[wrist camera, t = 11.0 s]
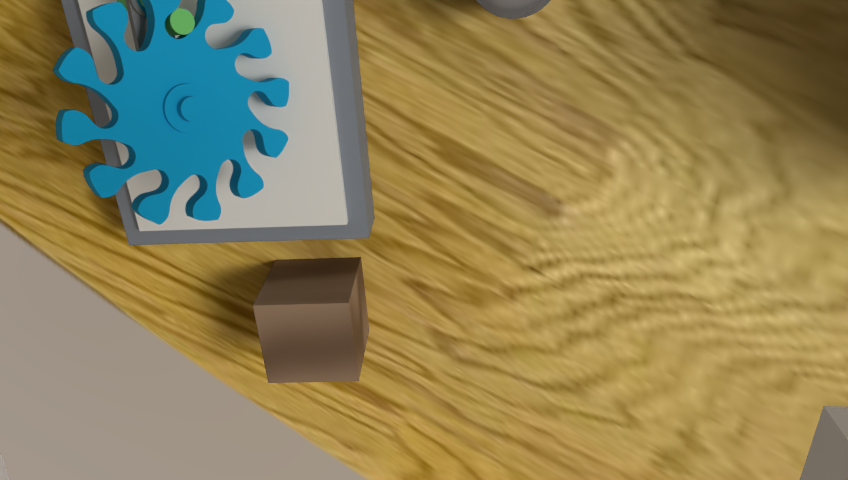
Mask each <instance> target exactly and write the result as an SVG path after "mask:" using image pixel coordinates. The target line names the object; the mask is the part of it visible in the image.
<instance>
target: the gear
mask: <svg viewBox="0 0 848 480" xmlns="http://www.w3.org/2000/svg"><path fill="white" fill-rule="evenodd" d="M180 1H181V0H117V2H112V3H106V4H102V5H99V6H96V7H94V8H92V9H90V10H88V11H86V18H87V21H88V23H89V25H90V26H91V27H92V29H94V30H95V31H96V32H97V33H99V34H100V35H101V36H102V37H103V38H104V40H105V41H106V42H107V44H108V45H109V47H110V49H111V51H112V53H113V57H114V60H115V64H116V69H117V76H116V78H115V79H114V81H113V82H111V83H109V84H105V83H104V82H102V81H101V80H100V79H99V77H98V76H97V73H96V69H95V64H94V61H93V59H92V57H91V56H90V54H89V53H88V52H86V51H85V50H83V49H81V48H77V47H74V48H69V49H68V50H66V51H65V52H64V53H63V54H62V55H61V56H60V58H59V59H58V61H57V63H56V64H55V66H54V68H53V71H54V73H55V75H56V76H57V77H58V78H60V79H61V80H63V81H66V82H70V83H76V84H79V85H82V86H84V87H86V88H89V89H90V90H92V91H93V92H95V93H96V94H97V95H98V96H99V97H100V98H101V99H102V100H103V101H104V102H105V103H106V104H107V105H108V107H109V108H110V110H111V113H112V117H111V120H110V122H109V123H108V124H107V125H106V126H104V127H98V126H96V125H95V124H94V123H93V122H92V121H91V120H90V119H89V118H88V116H86V115H85V114H84V113H82V112H80V111H76V110H70V109H63V110H60V111H59V112H58V115H57V119H56V135H57V139H58V140H59V141H61V142H64V143H68V144H71V145H79V144H82V143H85V142H87V141H90V140H94V139H111V140H114V141H117V142H120V143H122V144H124V145H125V146H126V147H127V149H128V152H129V157H128V160H127V161H126V163H125V164H123V165H122V166H119V167H113V166H109V165H106V164H103V163H93V164H90V165H88V166H87V167H85V169H84V170H83V173H84V177H85V179H86V182H87V183H88V185H89V187H90V188H91V190H92V191H93V192H94V194H95V195H97V196H99V197H101V198H107V197H111V196H113V195H115V194H116V193H117V192H118V190H119V189H120V188H121V186H122V185H123V184H124V183H125V182H126V181H127V180H129V179H130V178H131V177H133V176H135V175H137V174H139V173H142V172H146V171H150V170H156V169H157V170H158V171H159V172H160V174H161V178H162V181H161V184H160V186H159V187H158V188H157V189H156V190H153V191H150V192H146V193H142V194H140V195H138V196H137V197H136V198H135V199H134V200H133V202H132V206H131V208H132V209H133V211H134V212H135V213H137V214H138V215H140V216H141V217H143V218H145V219H147V220H149V221H152V222H154V223H156V224H159V225H160V224H162V223H163V222H164V221H166V219H167V218H168V215H169V211H170V204H171V200H172V198H173V195H174V193H175V192H176V190H177V189H178V188H179V186H180V185H181V184H182V183H183V182H184V181H185V180H186V179H187V178H189V177H190V176H192V175H196V176H197V177H198V178H199V181H200V185H199V189H198V190H197V192H196V193H195V194H193V195H192V196H191V197H190V198H189V200H188V201H187V203H186V206H185V212H186V215H187V216H189V217H191V218H194V219H197V220H201V221H212V220H218V219H219V217H220V214H221V206H220V203H219V201H218V198H217V194H216V181H217V177H218V173H219V170H220V167H221V165H222V164H223V162H225V161H226V160H230V161H231V163H232V165H233V172H232V175H231V178H230V183H229V186H230V190H231V192H232V193H233V194H234V195H235V196H237V197H240V198H248V197H251V196H253V195H254V194H256V193H258V192H259V191H260V190H262V189H263V188H264V183H263V180H262V178H261V176H260V175H259V174H257V173H256V172H255V171H254V170H253V169H252V168H251V166H250V165H249V163H248V161H247V159H246V157H245V153H244V148H243V142H242V139H243V136H244V134H245V132H247V131H248V130H251V131H252V132H253V134H254V138H255V144H256V148H257V150H258V151H259V152H260V153H261V154H262V155H264V156H269V157H274V158H276V157H277V156H279V155H280V153H281V152H282V151H283V149H284V147H285V146H286V143H287V141H288V136H287V135H286V133H285V132H283V131H281V130H278V129H273V128H270V127H267V126H266V125H264V124H263V123H261V122H260V121H259V120H258V119H257V118H256V117H255V115H254V114H253V113H252V111H251V110H250V108H249V106H248V98H249V96H250V95H251V94H252V93H253V92H255V93H256V94H257V95H258V96H259V97H260V99H261V100H262V101H263V102H264V103H265V104H266V105H268V106H274V107H284V106H286V105H287V102H288V98H289V82H288V81H287V80H286V79H283V78H267V79H265V80H263V81H258V82H256V81H253V80H250V79H247V78H245V77H243V76H241V75H240V74H239V73H238V72H237V71H236V68H235V60H236V58H237V56H238V55H240V54H242V55H244V56H246V57H248V58H252V59H263V58H267V57H268V56H270V55H271V53H272V49H271V44H270V41H269V39H268V36H267V34H266V32H265V30H264V29H263V28H252V29H247V30H245V31H243V32H242V34H241V35H240V36H239V38H238V39H237V40H236V41H235V42H233V43H232V44H230V45H228V46H226V47H223V48H218V49H214V48H212V47H210V46H209V45H208V43H207V41H206V38H205V32H206V30H207V28H208V27H209V26H210V25H212V24H220V23H226V22H228V21H229V20H230V19H231V18H232V16H233V14H234V9H233V7H232V6H231V4H230V3H229V2H228V1H227V0H198V1H197V7H196V13H195V17H193V15H192V14H191V13H190V12H189V11H188V10H186V9H183V8H179V9H177V8H178V6H179V4H180ZM127 11H128V13H127ZM128 15H129V20H130V25H131V29H132V34H133V39H134V43H135V48H136V51H134V50H132V49H130V48H129V47H128V46H127V44H126V43H125V40H124V33H125V30H126V27H127V24H128ZM175 35H180V36H178V37H177V38H175Z"/></svg>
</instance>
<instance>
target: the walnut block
mask: <svg viewBox="0 0 848 480" xmlns="http://www.w3.org/2000/svg"><path fill="white" fill-rule="evenodd" d="M253 309H254V314H255V319H256V324H257V329H258V334H259V339H260V344H261V349H262V354H263V359H264V364H265V369H266V374H267V379H268V383H287V382H340V381H359V377H360V372H361V367H362V362H363V357H364V352H365V348H366V343H367V338H368V333H369V324H368V315H367V307H366V298H365V289H364V280H363V272H362V263H361V257H354V258H322V259H289V260H275V262H274V264H273V266H272V268H271V270H270V272H269V274H268V276H267V278H266V280H265V282H264V284H263V286H262V288H261V290H260V292H259V294H258V296H257V298H256V300H255V302H254V304H253Z"/></svg>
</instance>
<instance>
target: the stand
mask: <svg viewBox="0 0 848 480" xmlns="http://www.w3.org/2000/svg"><path fill="white" fill-rule="evenodd" d="M197 1H198V0H181V1H180V4H179V6H178V8H177V9H179V8H183V9H186V10H188V11H189V12H190V13H191V14H192V15H193V17H195V13H196V7H197ZM227 1H228V2H229V3H230V4H231V6H232V7H233V9H234V14H233V16H232V18H231V19H230V20H229V21H228V22H226V23H220V24H212V25H210V26H209V27H208V28H207V30H206V32H205V38H206V41H207V43H208V45H209V46H210V47H212V48H214V49H218V48H223V47H226V46H228V45H230V44H232V43H233V42H235V41H236V40H237V39H238V38H239V36H240V35H241V34H242V32H243V31H245V30H247V29H252V28H263V29H264V30H265V32H266V34H267V36H268V39H269V41H270V44H271V49H272V53H271V55H270V56H268V57H267V58H263V59H252V58H248V57H246V56H244V55H242V54H240V55H238V56H237V58H236V60H235V68H236V71H237V72H238V73H239V74H240V75H241V76H243V77H245V78H247V79H250V80H253V81H256V82H258V81H263V80H265V79H267V78H283V79H286V80H287V81H288V82H289V98H288V102H287V105H286V106H284V107H274V106H268V105H266V104H265V103H264V102H263V101H262V100H261V99H260V97H259V96H258V95H257V94H256V93H255V92H253V93H252V94H251V95H250V96H249V98H248V106H249V108H250V110H251V111H252V113H253V114H254V115H255V117H256V118H257V119H258V120H259V121H260V122H261V123H263V124H264V125H266V126H267V127H270V128H273V129H278V130H281V131H283V132H285V133H286V135H287V136H288V141H287V143H286V146H285V147H284V149H283V151H282V152H281V153H280V155H279V156H277V157H276V158H274V157H269V156H264V155H262V154H261V153H260V152H259V151H258V150H257V148H256V144H255V138H254V134H253V132H252V131H251V130H248V131H247V132H245V134H244V136H243V139H242V142H243V148H244V153H245V157H246V159H247V161H248V163H249V165H250V166H251V168H252V169H253V170H254V171H255V172H256V173H257V174H259V175H260V176H261V178H262V180H263V183H264V188H263V189H262V190H260V191H259V192H258V193H256V194H254V195H253V196H251V197H248V198H240V197H237V196H235V195H234V194H233V193H232V192H231V190H230V186H229V183H230V178H231V175H232V172H233V165H232V163H231V161H230V160H226V161H225V162H223V164H222V165H221V167H220V170H219V173H218V177H217V181H216V194H217V198H218V201H219V203H220V206H221V214H220V217H219V219H218V220H212V221H201V220H197V219H194V218H191V217H189V216H187V215H186V212H185V206H186V203H187V201H188V200H189V198H190V197H191V196H192V195H193V194H195V193H196V192H197V190H198V189H199V185H200V181H199V178H198V177H197V176H196V175H192V176H190V177H189V178H187V179H186V180H185V181H184V182H183V183H182V184H181V185H180V186H179V188H178V189H177V190H176V192H175V193H174V195H173V198H172V200H171V204H170V211H169V215H168V218H167V219H166V221H164V222H163V223H162V224H160V225H159V224H156V223H154V222H152V221H149V220H147V219H145V218H143V217H141V216H140V215H138V214H137V213H135V212H134V211H133V209H132V208H131V206H132V202H133V200H134V199H135V198H136V197H137V196H138V195H140V194H142V193H146V192H150V191H153V190H156V189H157V188H158V187H159V186H160V184H161V181H162V178H161V174H160V172H159V171H158V170H157V169H156V170H150V171H146V172H142V173H139V174H137V175H135V176H133V177H131V178H130V179H129V180H127V181H126V182H125V183H124V184H123V185H122V186H121V188H120V189H119V190H118V192H117V193H116V194H115V196H116V200H117V203H118V207H119V210H120V214H121V218H122V221H123V225H124V228H125V232H126V236H127V239H128V243H129V245H151V244H185V243H219V242H253V241H286V240H320V239H354V238H369V236H370V232H371V228H372V225H373V221H374V210H373V200H372V189H371V179H370V169H369V159H368V149H367V139H366V128H365V118H364V108H363V98H362V88H361V78H360V67H359V57H358V47H357V37H356V27H355V17H354V7H353V0H227ZM61 2H62V6H63V9H64V13H65V16H66V20H67V24H68V27H69V31H70V34H71V38H72V41H73V45H74V47H77V48H81V49H83V50H85V51H86V52H88V53H89V54H90V56H91V57H92V59H93V61H94V64H95V69H96V73H97V76H98V77H99V79H100V80H101V81H102V82H104V83H105V84H109V83H111V82H113V81H114V79H115V78H116V76H117V69H116V64H115V60H114V57H113V53H112V51H111V49H110V47H109V45H108V44H107V42H106V41H105V40H104V38H103V37H102V36H101V35H100V34H99V33H97V32H96V31H95V30H94V29H92V27H91V26H90V25H89V23H88V21H87V18H86V11H88V10H90V9H92V8H94V7H96V6H99V5H102V4H106V3H112V2H117V0H61ZM127 13H128V11H127ZM178 36H180V35H175V38H177V37H178ZM124 40H125V43H126V44H127V46H128V47H129V48H130V49H132V50H134V51H136V48H135V43H134V39H133V34H132V29H131V25H130V20H129V15H128V24H127V27H126V30H125V33H124ZM85 88H86V87H85ZM86 92H87V95H88V99H89V103H90V106H91V110H92V113H93V117H94V121H95V124H96V126H98V127H104V126H106V125H107V124H108V123H109V122H110V120H111V117H112V113H111V110H110V108H109V107H108V105H107V104H106V103H105V102H104V101H103V100H102V99H101V98H100V97H99V96H98V95H97V94H96V93H95V92H93V91H92V90H90V89H89V88H86ZM100 142H101V146H102V149H103V153H104V156H105V160H106V164H107V165H109V166H113V167H119V166H122V165H123V164H125V163H126V161H127V160H128V157H129V152H128V149H127V147H126V146H125V145H124V144H122V143H120V142H117V141H114V140H111V139H100Z"/></svg>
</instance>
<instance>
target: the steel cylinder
mask: <svg viewBox="0 0 848 480" xmlns="http://www.w3.org/2000/svg"><path fill="white" fill-rule="evenodd" d="M477 2H478V3H479V4H480V5H481V6H482V7H483V8H484V9H486V10H487V11H488V12H490V13H492V14H494V15H496V16H499V17H502V18H508V19H516V18H523V17H527V16H529V15H532V14H534V13H536V12H538V11H539V10H541V9H542V8H543V7H544V6H546V5H547V4H548V3H549V2H550V0H477Z"/></svg>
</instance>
